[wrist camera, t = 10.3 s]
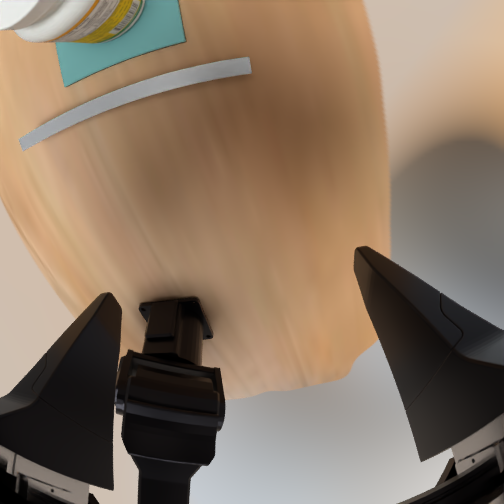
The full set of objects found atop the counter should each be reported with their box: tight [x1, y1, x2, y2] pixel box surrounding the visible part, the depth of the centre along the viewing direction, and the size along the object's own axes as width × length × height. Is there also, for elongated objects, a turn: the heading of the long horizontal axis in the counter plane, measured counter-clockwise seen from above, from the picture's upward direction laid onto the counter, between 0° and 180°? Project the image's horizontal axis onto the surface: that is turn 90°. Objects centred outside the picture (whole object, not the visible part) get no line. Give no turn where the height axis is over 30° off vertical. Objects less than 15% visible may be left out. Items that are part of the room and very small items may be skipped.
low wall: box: [19, 57, 252, 151], centre depth 14 cm, size 1×16×3 cm, turn 99°
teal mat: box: [56, 0, 186, 87], centre depth 10 cm, size 9×9×1 cm
